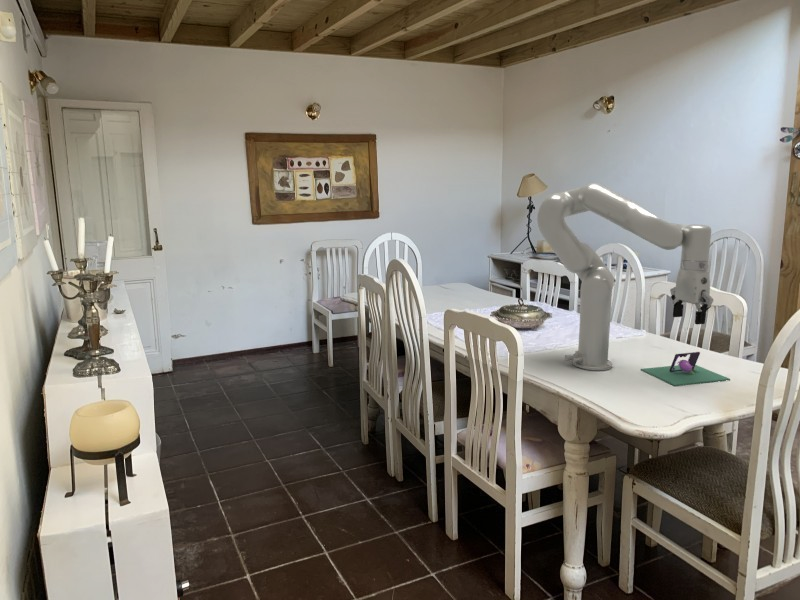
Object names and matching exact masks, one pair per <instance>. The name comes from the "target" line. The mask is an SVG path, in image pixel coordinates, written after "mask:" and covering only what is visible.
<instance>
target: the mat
mask: <svg viewBox="0 0 800 600" xmlns="http://www.w3.org/2000/svg"><path fill="white" fill-rule="evenodd" d="M670 368H671V365H667V366H657V367H647V368H646V367H645V368H640V371H641V372H643V373H645V374H648V375H650V376H652V377H654V378H655V379H658V380H660V381H662V382H663V383H664V382H665V383H667V384H669V385H670V386H673V387H682V386H690V385H691V386H692V385H701V384H710V382H711V383H719V382H718V381H720V382H727V381H726V380H729V381H731V378H729V377H727V376H724V375H722V374H719V373H717V372H714V371H711V370H709V369H707V368H705V367H702V366H700V365H697V364H695V367H694V369H693V370H692V371H693V373H694V374H692V373H691V372H685V371H674V372H670V371H669V370H670ZM674 368H675V369H674V370H680V367H679V365H678V364H675V365H674ZM672 370H673V368H672ZM700 383H701V384H700Z"/></svg>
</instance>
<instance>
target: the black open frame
mask: <svg viewBox="0 0 800 600" xmlns="http://www.w3.org/2000/svg"><path fill="white" fill-rule="evenodd" d="M700 354H701V352H700V351H695V352H684V353H683V352H681V353H675V354H674V357H673V360H672V363H671V365H670V366H671V368H670V370H669V371H670V372H674V371H685V372H691V373H692V374H694V373H693V371H692V370H693V369H694V367H695V365H697V361H698V359H699V357H700ZM687 356H689V357H688V359H687V360H686V359H681V360H679V361H677V360H678V358H686V357H687ZM676 361H677V362H676ZM675 365H679V367H680V370H674V369H675V368H674V366H675ZM672 368H673V370H672Z"/></svg>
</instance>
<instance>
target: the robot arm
mask: <svg viewBox="0 0 800 600" xmlns="http://www.w3.org/2000/svg"><path fill="white" fill-rule="evenodd" d="M586 212H592V213H594V214H595V215H598V216H600V217H602V218H603V219H605V220H607V221H610V222H611V223H612V224H615V225H617V226H618V227H621V228H622V229H624V230H625V231H628V232H631V234H634V235H636V236H638V237H639V238H641V239H643V240H645V241H647V242H648V243H650V244H653V246H656V247H658V248H659V249H662V250H666V251H668V250H669V251H671V250H676V249H677V248H678V247H681V255H680V264H679V265H680V266H679V269H678V273H677V277H676V281H675V282H676V283H675V286H674V287H672V288H670V289H669V291H670V292H669V293H670V294H671V295H670V296H671V297H670V298H671V300H672V305H673V310H672V317H673V318H681V317H683V314H684V304H683V303H688V304H693V305H694V306H695V307H696V310H697V311H695V316H694V324H695V325H704V324H705V325H706V318H707V317H706V316H707V312H709V309H710V308H711V307H712V304H713V303H714V298H713V297H712V296H711V295H710V293H711V291H710V290H711V280H710V273H709V272H710V271H708V268H709V257H710V247H711V239H712V229H711V227H710V226H709V225H706V224H682V223H681V224H680V223H674V222H668V221H666V220H665V219H663V218H661V217H659V216H656V215H655V214H652V213H650V211H648V210H646V209H645V208H643V207H642V206H641V205H640V204H638V203H637V202H635V201H633V200H632V199H629V198H627V197H626V196H623V195H621V194H619V193H618V192H615V191H613V190H612V189H609V188H608V187H606V186H605V185H603V184H602V183H599V182H590V183H588V184H585V185H583V186H580V187H576V188H573V189H567V190H565V191H561V192H555V193H551V194H549V195H547V196H546V197H545V198H544V199H543V201H542V202H541V204H540V206H539V208H538V211H537V218H536V220H537V227H538V229H539V231H540V234H541V235H542V237H543V238H544V240H545V241H546V242H547V244H548V245H549V247H550V248H551V250H552V251H553V252H554V254H555V255H556V256H557V258H558V260H560V262H561V264H562V265H563V266H564V267H565V269H566V270H567V271H568V272H570V273H572V274H576V276H577V277H578V279H579V280H580V281H581V284H580V289H579V290H580V294H579V296H580V301H579V302H580V307H579V327H578V328H579V331H578V347H577V349H578V350H575V351H574V353H572V354H565V355H564V360H565V362H567V361H569V362H570V361H572V365H573V366H575V367H576V368H579V369H582V370H587V371H606V370H611V368H613V362H612V361H611V360H609V347H610V328H611V316H612V315H611V313H612V312H611V311H612V294H613V290H614V289H613V288H614V285H615V278H614V276H613V273H612V272H611V270H610V269H609V268H608V267H607V265H606V264H605V263H604V261H603V260H602V259H601V257H599V255H598V254H597V252H596V251H595V250H594V248H593V247H591V245H589V244H588V243H586V242H582V241H580V239H578V237H577V236H576V235H575V232H574V231H573V230H572V229H571V228H570V226H568V224H567V222H566V221H565V218H567V217H570V216H574V215H578V214H582V213H586Z"/></svg>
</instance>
